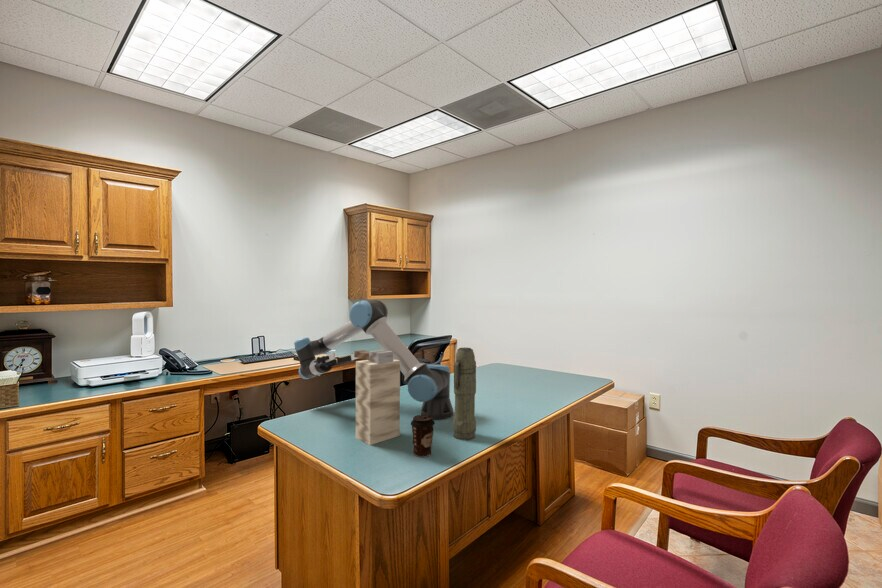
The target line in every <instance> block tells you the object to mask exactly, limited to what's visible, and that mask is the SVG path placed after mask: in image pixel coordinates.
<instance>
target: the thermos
mask: <svg viewBox="0 0 882 588" xmlns="http://www.w3.org/2000/svg"><path fill="white" fill-rule="evenodd" d="M453 393H454V417H453V421H452V422H453V424H452V425H453V427H452V428H453V429H452V430H453V437H454V438H455V439H456V440H460V441H470V440H473V439H475V438H476V430H477V428H476V427H477V420H476V417H475V411H476V410H475V409H476V407H475V405H476V404H475V402H476V401H475V399H476V393H477V362H476V357H475V352H474V349H472V348H471V347H459V348H457V350H456V353H455V362H454V364H453Z"/></svg>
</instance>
